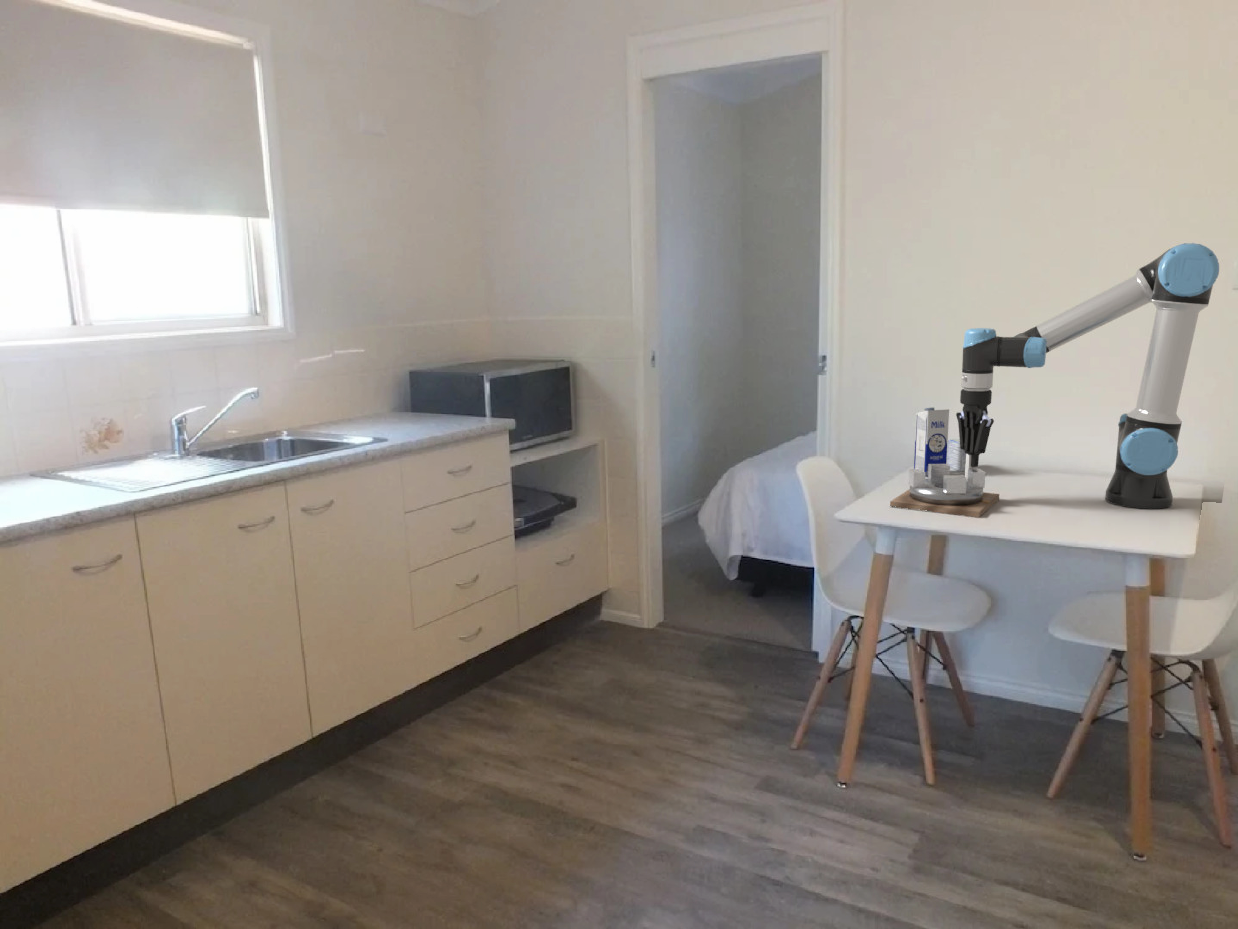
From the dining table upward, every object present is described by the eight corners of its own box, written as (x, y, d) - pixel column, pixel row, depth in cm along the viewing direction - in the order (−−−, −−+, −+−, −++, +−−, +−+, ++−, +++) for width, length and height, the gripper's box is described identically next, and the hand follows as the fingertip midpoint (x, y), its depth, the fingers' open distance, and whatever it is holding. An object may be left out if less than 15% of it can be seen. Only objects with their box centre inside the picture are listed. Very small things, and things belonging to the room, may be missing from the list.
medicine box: (974, 470, 282) (975, 442, 280) (961, 471, 281) (962, 443, 279) (959, 466, 290) (960, 438, 288) (946, 466, 289) (947, 439, 287)
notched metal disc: (995, 496, 241) (997, 470, 240) (959, 508, 230) (961, 481, 229) (932, 486, 255) (934, 461, 253) (895, 496, 243) (896, 470, 242)
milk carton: (924, 476, 275) (927, 409, 271) (913, 472, 281) (915, 406, 277) (946, 475, 276) (949, 408, 272) (934, 471, 283) (937, 405, 279)
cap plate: (999, 499, 246) (999, 493, 245) (979, 517, 228) (979, 510, 227) (915, 490, 258) (915, 484, 257) (890, 507, 240) (890, 500, 239)
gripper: (949, 386, 245) (944, 474, 250) (978, 392, 232) (972, 484, 237) (974, 385, 246) (968, 472, 251) (1004, 391, 234) (998, 482, 239)
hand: (970, 478), depth 244 cm, fingers closed
